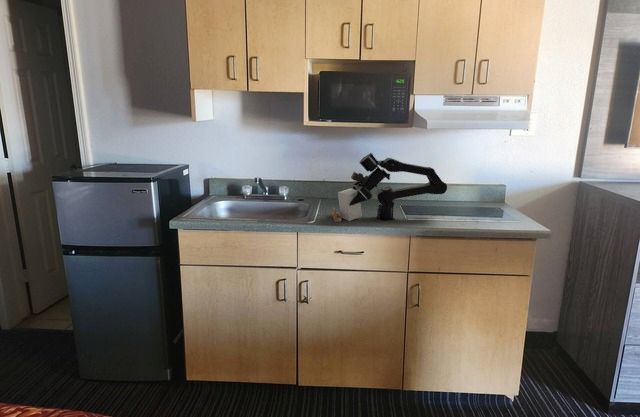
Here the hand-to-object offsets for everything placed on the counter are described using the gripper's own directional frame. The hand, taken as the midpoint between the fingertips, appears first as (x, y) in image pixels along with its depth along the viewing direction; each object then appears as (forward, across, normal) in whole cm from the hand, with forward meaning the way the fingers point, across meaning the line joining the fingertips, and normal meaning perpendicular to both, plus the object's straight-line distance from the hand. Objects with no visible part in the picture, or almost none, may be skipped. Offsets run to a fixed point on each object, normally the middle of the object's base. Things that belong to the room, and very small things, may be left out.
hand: (348, 202), depth 194 cm
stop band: (+9, -1, +2) cm, 9 cm away
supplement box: (+4, 0, +7) cm, 8 cm away
